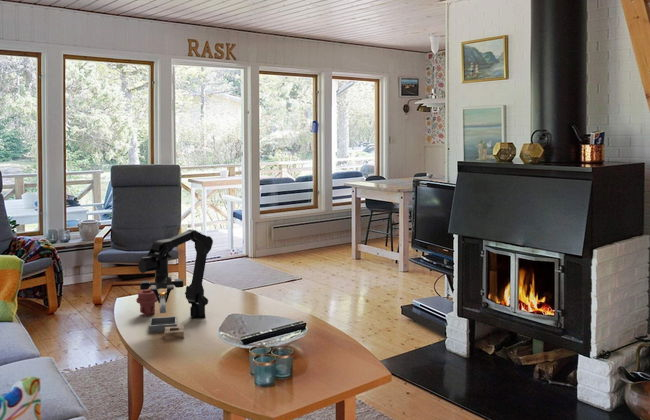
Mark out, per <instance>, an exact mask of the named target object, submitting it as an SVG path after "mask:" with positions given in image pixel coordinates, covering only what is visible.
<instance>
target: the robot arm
mask: <svg viewBox="0 0 650 420" xmlns="http://www.w3.org/2000/svg"><path fill="white" fill-rule="evenodd" d="M190 241H191V242H193V243H194V249H195V252H196V256H195V262H194V266H193V271H192V279H191V283H190V284H189V285H186V287H185V292H184V295H185V299H186V300H187V302H188V304H190V305H191V306H189V307H190V308H189V309H190V310H189V311H190V313H189V314H190V317H191V319H204V318H206V306H207V305H208V304H209V299H208V298H207V297H206V296H205V289H204V286H203V279H204V274H205V268H206V261H207V257H208V255H209V252H210V251H211V250H212V247H213V243H214V240H213V238H212V237H211V236H209V235H205V234H203V233H201V232H199V231H198V230H195V229H187V230H186V231H183V232H182V233H180V234H177V235H175V236H172V237H170V238H167V239H158V240H154V242H153V243H152V245H151V248H150V249H149V251H148V254H147V256H143V257H141V258H140V260H139V262H138V264H137V267H138V271H139V272H140V273H142V274H146V273H150V272H154V275H155V278H154V281H153V282H151V281H150V280H141V281H140V283H139V289H140V291H142V290H146V289H151V291H153V292H154V293H155V295H156V297H157V300H158V301H157V302H158V304H160V299H159V293H160V292H159V290H160V289H161V290H162V289H163V290H165V289H166V304H167V303H168V301H169V296H170V294H171V291H173V290H174V289H175V288H184V279H183V278H174V280H172V277H171V276H169V259H171V258H173V256H172V255H170V253H171V252H172V251H174V250H173V249H174V248H176V247H178V246H180V245H182V244H185V243H187V242H190Z"/></svg>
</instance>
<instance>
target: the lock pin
mask: <svg viewBox="0 0 650 420" xmlns="http://www.w3.org/2000/svg"><path fill="white" fill-rule="evenodd" d="M166 293H167V291H160V292H159V299H160V303H159V313H160V314H165V313H167V303H166Z"/></svg>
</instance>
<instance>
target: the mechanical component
mask: <svg viewBox="0 0 650 420" xmlns="http://www.w3.org/2000/svg"><path fill="white" fill-rule="evenodd" d="M135 301H136V303H137V304H138V305H139V313H141V314H142V315H143V317H148V316H150V315H151V316H152V315H155V314H156V303H157V302H158V300H157V297H156V295H155V293H154V292H153V291H151V288H148V289H146V290H140V291H138V292H137V298H136V300H135Z"/></svg>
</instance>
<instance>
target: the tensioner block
mask: <svg viewBox="0 0 650 420" xmlns="http://www.w3.org/2000/svg"><path fill="white" fill-rule="evenodd" d="M179 339H181V340H182V339H185V328H184V325H177V326H174V327H165V332H164V340H165V341H168V340H179Z"/></svg>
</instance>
